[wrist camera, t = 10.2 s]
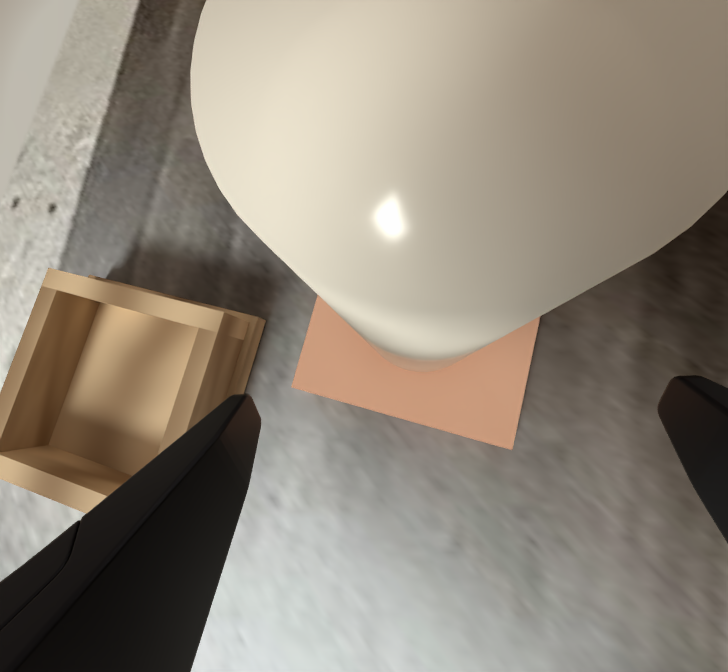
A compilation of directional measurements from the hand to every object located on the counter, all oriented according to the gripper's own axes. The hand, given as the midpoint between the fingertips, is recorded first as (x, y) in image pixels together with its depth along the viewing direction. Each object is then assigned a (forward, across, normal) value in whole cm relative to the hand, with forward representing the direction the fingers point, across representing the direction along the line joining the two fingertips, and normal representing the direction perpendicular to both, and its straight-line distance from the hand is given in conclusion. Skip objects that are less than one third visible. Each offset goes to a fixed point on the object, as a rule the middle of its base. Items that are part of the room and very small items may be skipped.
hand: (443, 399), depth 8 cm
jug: (+10, 0, +3) cm, 10 cm away
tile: (+10, 0, +4) cm, 11 cm away
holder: (+8, +16, +7) cm, 19 cm away
